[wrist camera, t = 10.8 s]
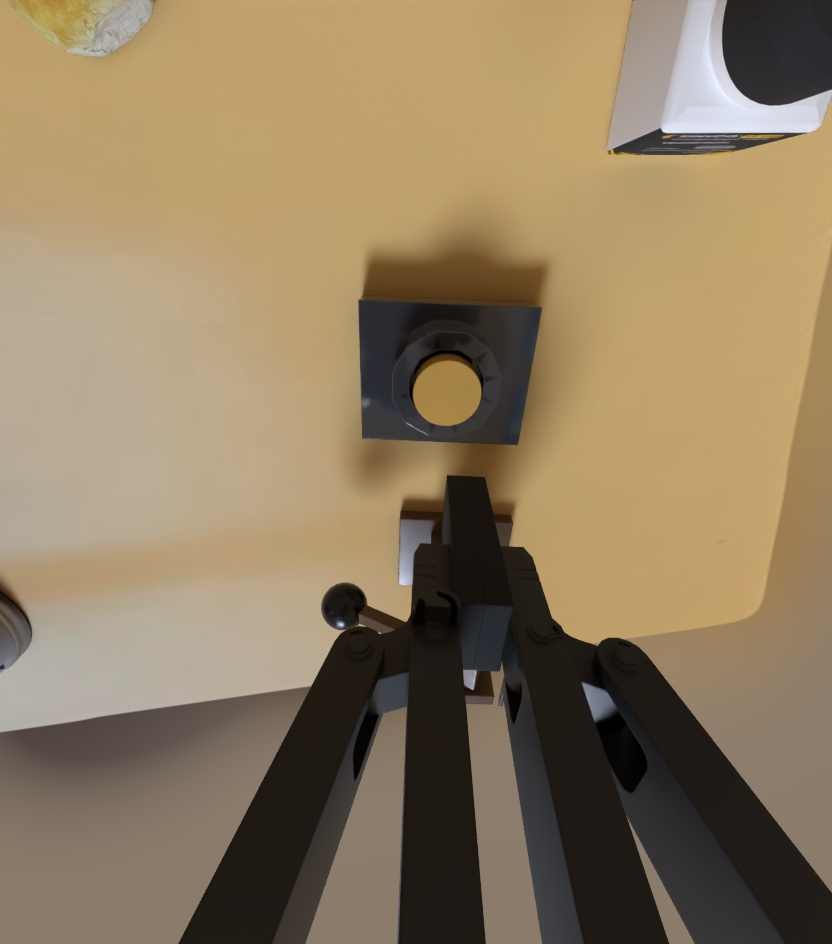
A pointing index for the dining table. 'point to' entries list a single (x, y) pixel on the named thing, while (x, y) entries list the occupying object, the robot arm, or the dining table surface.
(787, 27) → the medicine bottle
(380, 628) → the flush lever
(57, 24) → the bread roll
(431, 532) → the lever bracket
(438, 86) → the dining table surface
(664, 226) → the dining table surface
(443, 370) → the tan short cylinder
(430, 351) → the button base
